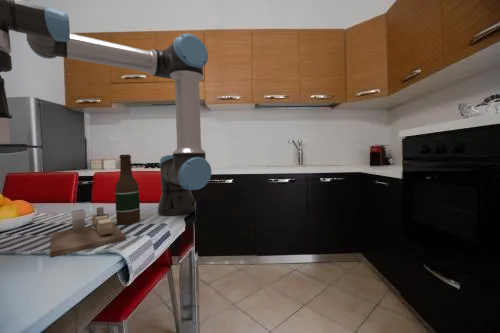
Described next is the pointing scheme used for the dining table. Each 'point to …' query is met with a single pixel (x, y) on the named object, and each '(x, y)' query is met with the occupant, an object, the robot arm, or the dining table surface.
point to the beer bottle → (127, 194)
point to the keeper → (79, 220)
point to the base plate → (82, 240)
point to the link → (102, 222)
